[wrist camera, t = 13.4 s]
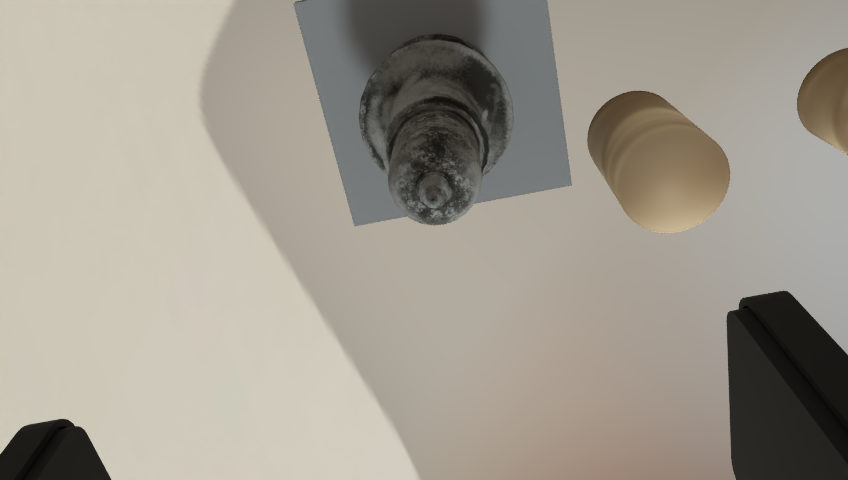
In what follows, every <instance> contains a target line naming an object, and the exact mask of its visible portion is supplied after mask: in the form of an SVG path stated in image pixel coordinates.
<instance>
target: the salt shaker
mask: <svg viewBox="0 0 848 480" xmlns="http://www.w3.org/2000/svg"><path fill="white" fill-rule="evenodd" d="M513 123H514V116H513V103H512V99H511V96H510V93H509V90H508V87H507V85H506V82H505V80H504V79H503V77H502V76H501V74H500V73H499V72H498V70H497V69H496V67H495V66H494V65H493V64H492V63H491V62H490V61H489V60H487V59H486V58H485V56H484V55H483V53H481V52H480V51H479V50H478V49H476V48H475V47H474V46H473V45H472V44H470V43H469V42H467V41H464V40H462V39H460V38H457V37H455V36H450V35H443V34H430V35H422V36H419V37H416V38H414V39H412V40H409V41H407V42H405V43H403V44H402V45H401V46H400V47H398V48H397V49H396V50H394V51H393V52H392V53H391V54H390V56H389V57H388V58H387V59H385V60H384V61H383V62H381V63H380V65H379V66H378V67H377V69H376V70H375V71H374V73H373V74H372V75H371V77H370V78H369V79H368V82H367V84H366V87H365V89H364V92H363V94H362V97H361V101H360V111H359V124H360V130H361V136H362V140H363V142H364V144H365V146H366V149H367V151H368V153H369V155H370V157H371V158H372V159H373V160H374V162H375V163H376V164H377V165H378V167H379V168H380V169H381V170H382V171H383V172H384V173H385V174H387V175H388V184H389V191H390V193H391V195H392V197H393V200H394V202H395V204H396V205H397V206H398V208H399V209H400V210H401V211H402V213H404V214H405V215H406V216H408V217H409V218H411V219H412V220H414V221H417V222H419V223H422V224H428V225H441V224H447V223H449V222H452V221H455V220H457V219H458V218H460V217H461V216H463V215H464V214H466V213H467V211H468V210H469V209H470V208H471V207H472V206H473V204H474V203H475V201H476V199H477V196H478V194H479V192H480V189H481V184H482V177H483V176H484V175H486V174H487V173H489V172H490V170H491V169H492V168H493V167H494V166H495V165H496V164H497V162H498V161H499V160H500V159H501V158H502V156H503V154H504V152H505V150H506V147H507V145H508V143H509V141H510V138H511V133H512V128H513Z"/></svg>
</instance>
